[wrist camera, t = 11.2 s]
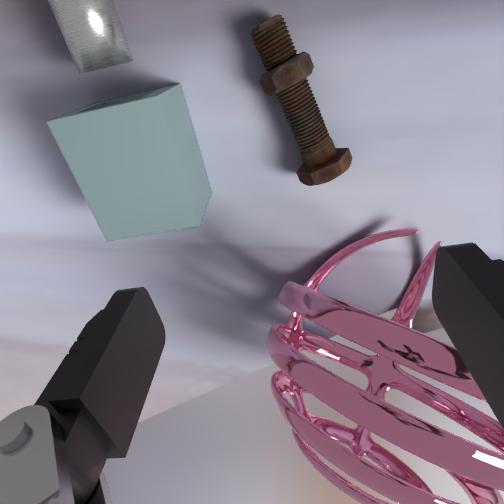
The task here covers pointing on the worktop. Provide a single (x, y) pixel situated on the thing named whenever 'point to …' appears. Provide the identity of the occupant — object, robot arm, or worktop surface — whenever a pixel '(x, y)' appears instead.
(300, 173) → the bolt
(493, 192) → the worktop surface
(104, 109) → the housing
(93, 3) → the plunger
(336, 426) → the spiral basket
